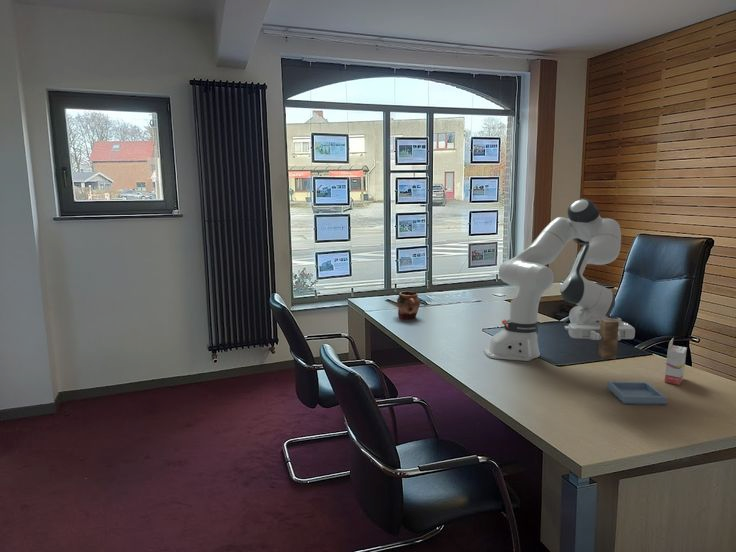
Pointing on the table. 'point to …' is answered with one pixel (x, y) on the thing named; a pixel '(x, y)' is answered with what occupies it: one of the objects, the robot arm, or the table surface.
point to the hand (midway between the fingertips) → (609, 337)
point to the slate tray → (636, 393)
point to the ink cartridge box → (675, 364)
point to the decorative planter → (408, 305)
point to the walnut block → (608, 338)
